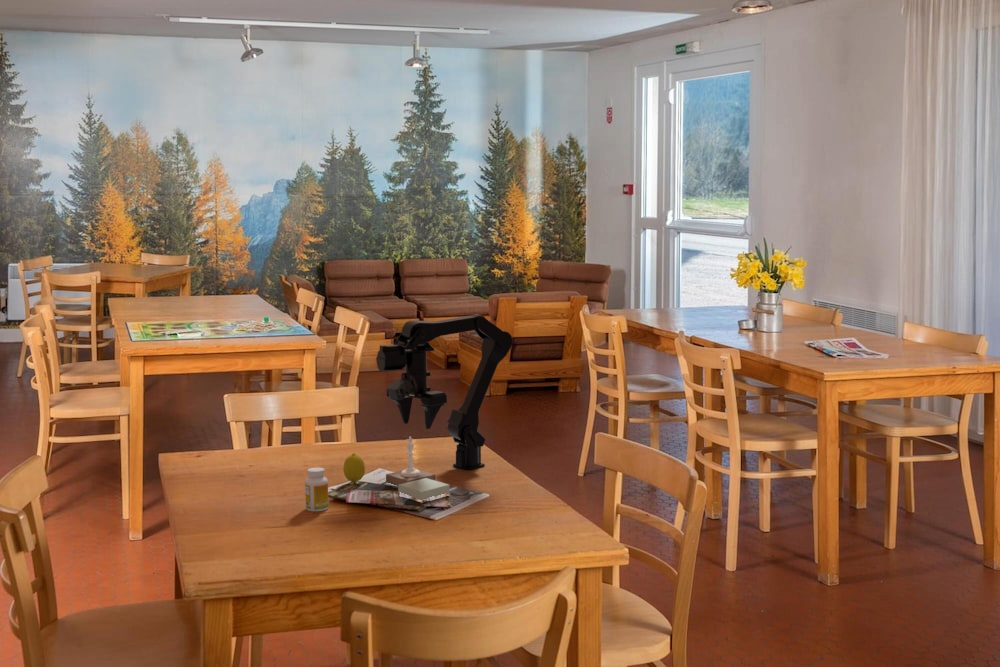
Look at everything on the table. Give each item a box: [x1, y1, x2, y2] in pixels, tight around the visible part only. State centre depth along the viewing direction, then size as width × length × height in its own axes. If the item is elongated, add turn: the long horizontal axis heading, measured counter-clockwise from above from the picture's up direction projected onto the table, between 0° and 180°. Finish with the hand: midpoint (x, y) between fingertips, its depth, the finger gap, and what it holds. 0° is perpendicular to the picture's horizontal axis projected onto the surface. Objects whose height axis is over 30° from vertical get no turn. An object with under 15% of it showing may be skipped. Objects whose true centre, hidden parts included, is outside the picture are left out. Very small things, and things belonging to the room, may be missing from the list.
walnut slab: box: [385, 468, 436, 486], centre depth 285 cm, size 9×9×3 cm
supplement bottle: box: [304, 467, 329, 513], centre depth 264 cm, size 5×5×10 cm
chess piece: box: [401, 435, 420, 477], centre depth 284 cm, size 5×5×10 cm
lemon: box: [342, 453, 366, 483], centre depth 287 cm, size 6×6×8 cm
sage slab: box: [397, 478, 451, 500], centre depth 275 cm, size 9×9×3 cm
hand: (416, 426), depth 295 cm, fingers open, 9 cm apart
